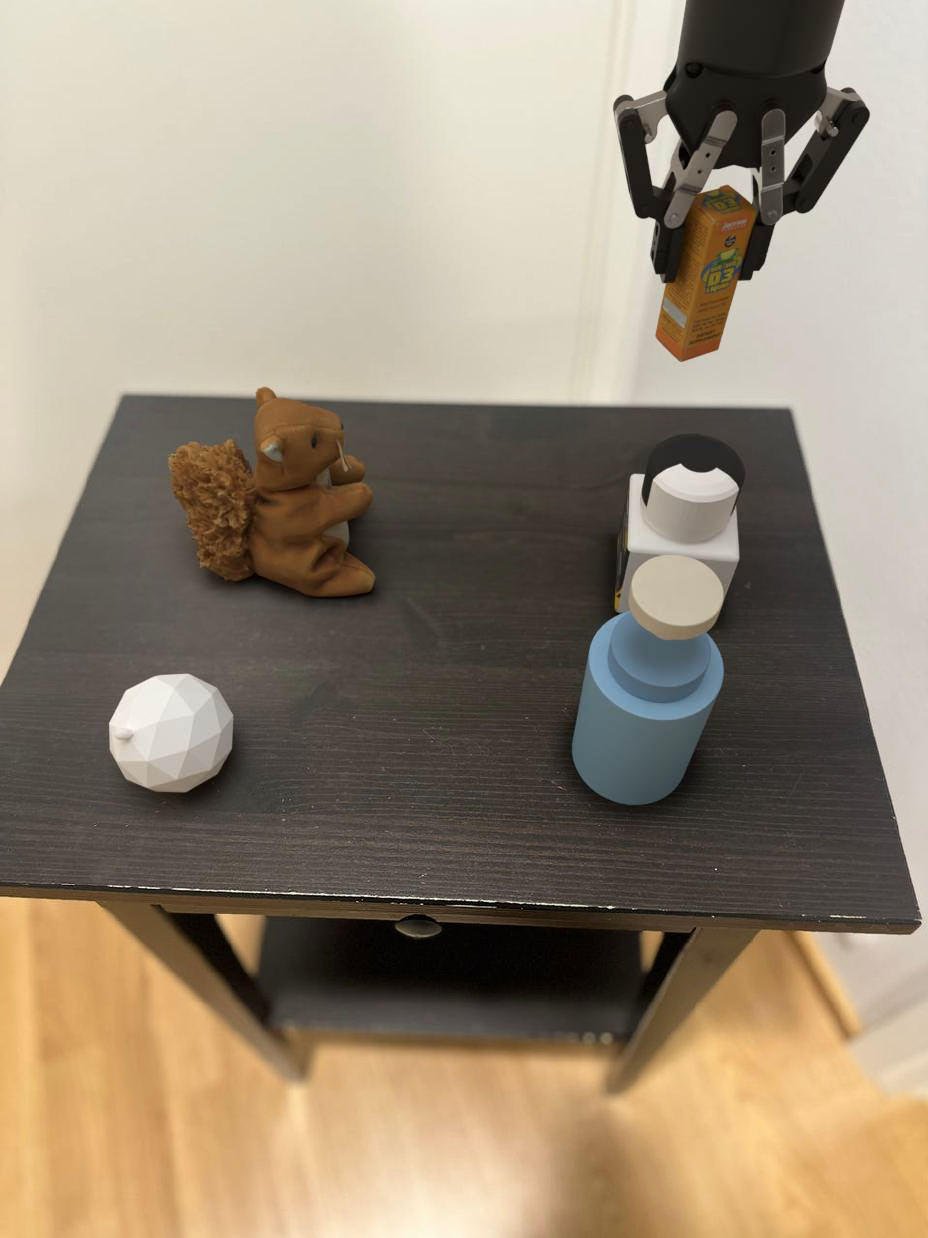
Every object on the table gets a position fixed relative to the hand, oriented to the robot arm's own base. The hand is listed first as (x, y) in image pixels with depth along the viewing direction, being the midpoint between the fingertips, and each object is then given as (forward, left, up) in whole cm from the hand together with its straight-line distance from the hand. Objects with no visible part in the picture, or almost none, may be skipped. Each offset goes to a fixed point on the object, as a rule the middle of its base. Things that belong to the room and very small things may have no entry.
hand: (704, 273), depth 54 cm
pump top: (+6, +24, -5) cm, 25 cm away
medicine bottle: (+1, +10, -19) cm, 21 cm away
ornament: (+34, +23, -19) cm, 45 cm away
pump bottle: (+6, +24, -18) cm, 31 cm away
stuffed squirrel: (+29, +6, -19) cm, 35 cm away
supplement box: (0, 0, -5) cm, 5 cm away
